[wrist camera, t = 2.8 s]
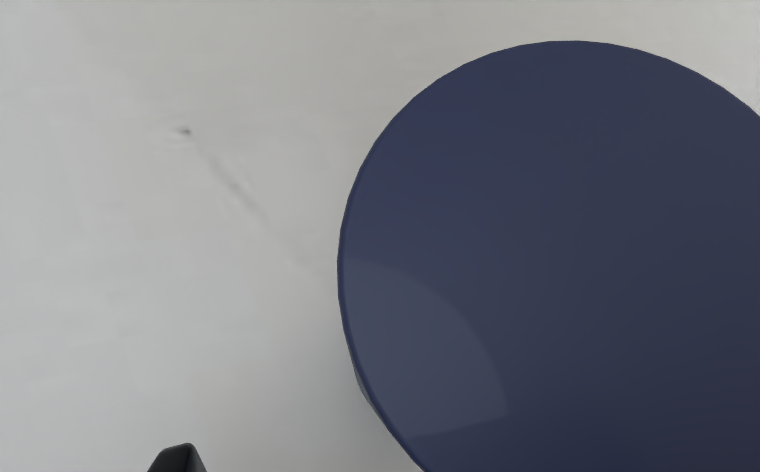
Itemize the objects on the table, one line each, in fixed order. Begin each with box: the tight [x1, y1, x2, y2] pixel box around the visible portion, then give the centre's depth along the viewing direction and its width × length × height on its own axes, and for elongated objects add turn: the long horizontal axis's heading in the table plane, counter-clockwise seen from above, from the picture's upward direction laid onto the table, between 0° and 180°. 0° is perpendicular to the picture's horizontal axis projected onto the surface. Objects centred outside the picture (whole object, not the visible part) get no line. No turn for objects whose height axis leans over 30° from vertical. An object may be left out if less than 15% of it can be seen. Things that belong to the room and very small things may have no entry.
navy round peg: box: [337, 41, 760, 472], centre depth 11 cm, size 4×4×13 cm
